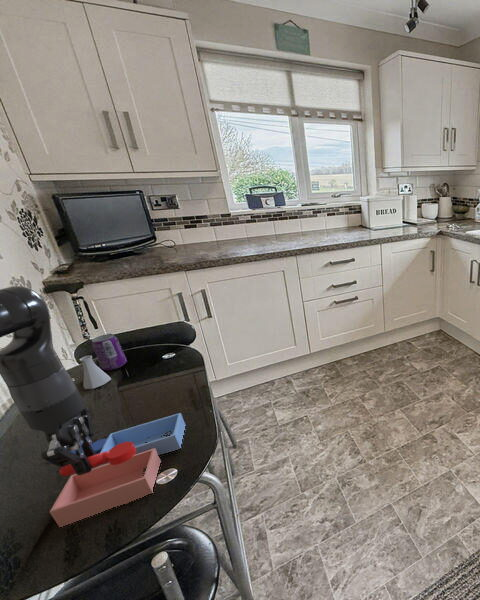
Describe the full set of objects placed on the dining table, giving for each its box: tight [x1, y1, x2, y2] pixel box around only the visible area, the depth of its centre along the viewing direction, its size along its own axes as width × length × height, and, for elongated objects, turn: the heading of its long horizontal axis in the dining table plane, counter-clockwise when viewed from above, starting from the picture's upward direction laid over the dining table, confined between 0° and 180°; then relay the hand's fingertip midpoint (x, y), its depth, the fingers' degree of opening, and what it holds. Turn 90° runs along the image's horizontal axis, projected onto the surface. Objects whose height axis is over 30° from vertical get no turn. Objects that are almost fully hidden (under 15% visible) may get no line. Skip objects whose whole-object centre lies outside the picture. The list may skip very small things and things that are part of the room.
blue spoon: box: [47, 437, 108, 464], centre depth 79 cm, size 12×4×2 cm, turn 115°
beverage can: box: [91, 333, 128, 371], centre depth 118 cm, size 7×7×12 cm
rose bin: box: [49, 448, 162, 528], centre depth 68 cm, size 15×9×4 cm, turn 115°
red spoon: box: [59, 442, 136, 477], centre depth 66 cm, size 12×4×2 cm, turn 115°
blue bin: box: [98, 412, 187, 467], centre depth 79 cm, size 15×9×4 cm, turn 115°
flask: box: [79, 355, 112, 390], centre depth 108 cm, size 7×7×10 cm
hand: (88, 467), depth 65 cm, fingers closed on red spoon, 2 cm apart
